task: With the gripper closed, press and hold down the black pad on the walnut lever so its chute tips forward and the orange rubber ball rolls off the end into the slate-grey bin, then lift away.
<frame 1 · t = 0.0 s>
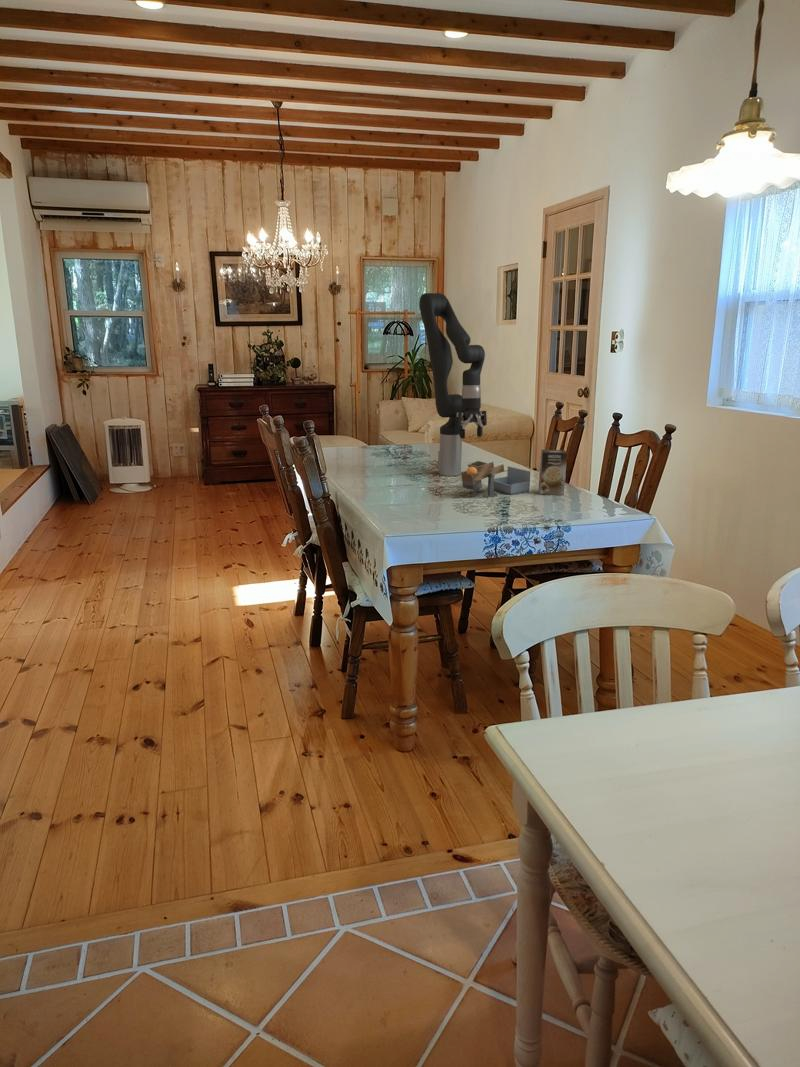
hand: (471, 437, 300), 17 cm above the table, tool pointing down, fingers open, 8 cm apart
lever stand: (483, 494, 277), on the table
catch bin: (509, 480, 283), on the table
lever chute: (475, 473, 279), point 7 cm above the table, hinge at -10.0°, touching ball
coffee box: (551, 493, 280), on the table
ball: (471, 472, 272), point 9 cm above the table, touching lever chute
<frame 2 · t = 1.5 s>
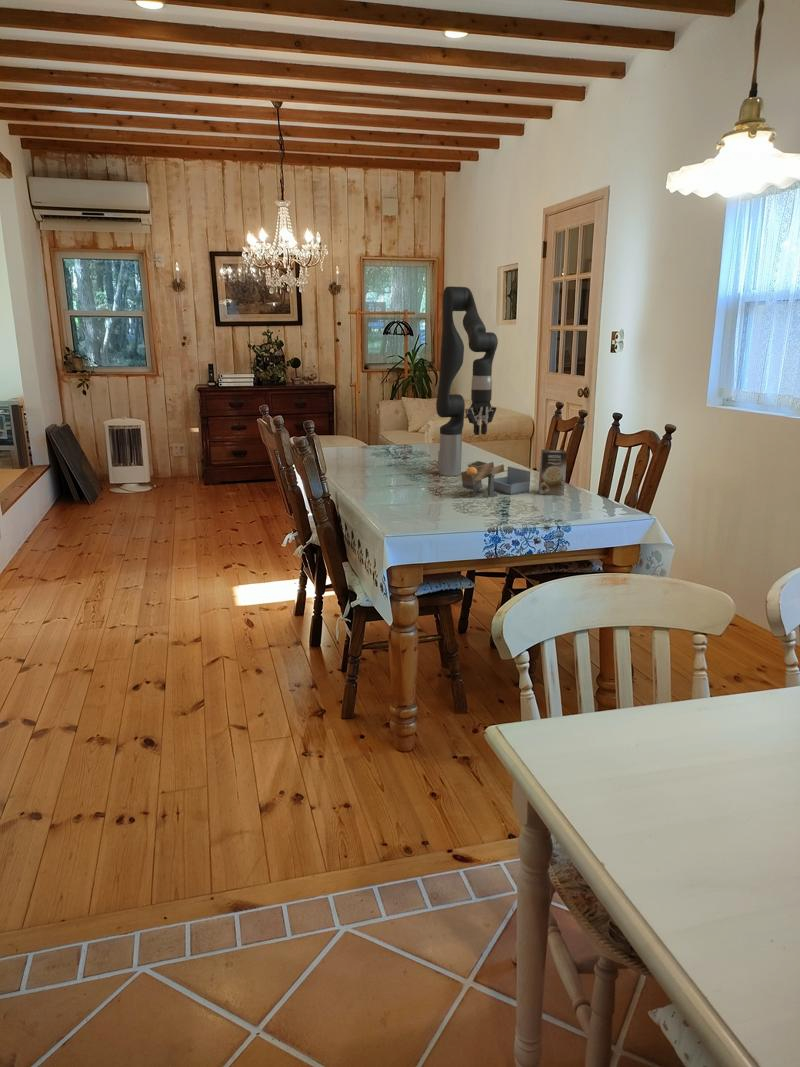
hand: (480, 434, 281), 21 cm above the table, tool pointing down, fingers closed
nothing on the table moved.
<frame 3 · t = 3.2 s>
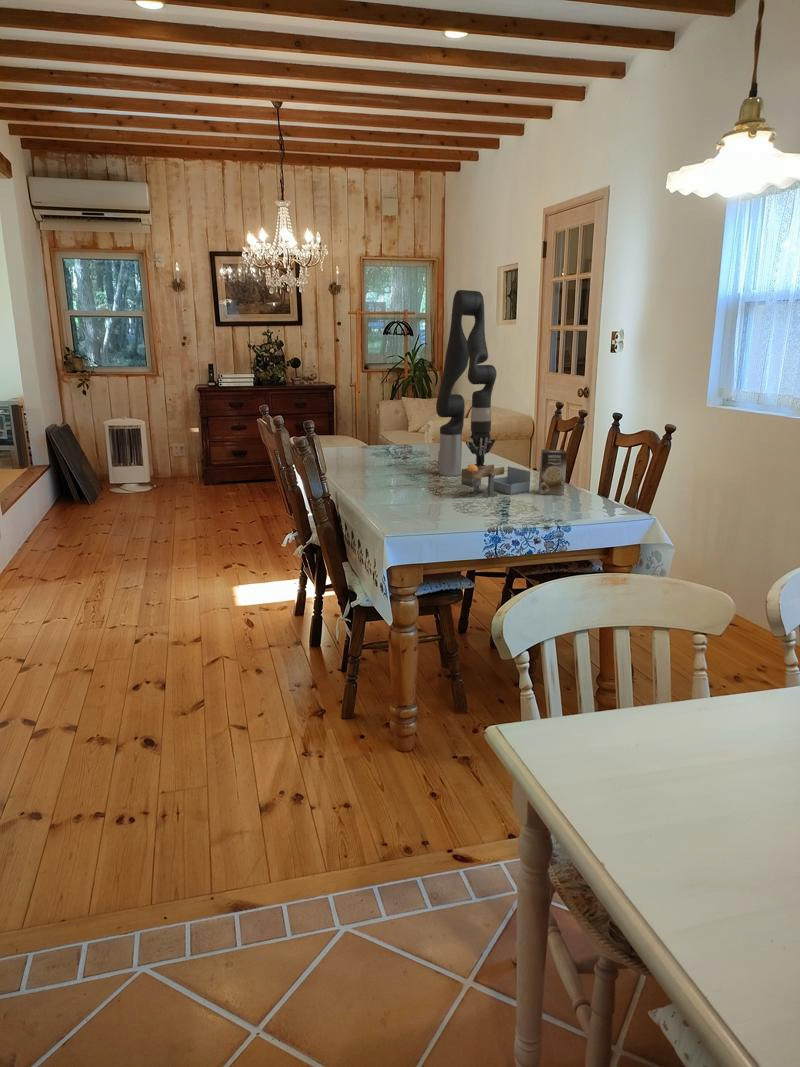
hand: (480, 464, 284), 9 cm above the table, tool pointing down, fingers closed
lever chute: (475, 473, 279), point 7 cm above the table, hinge at -1.0°, touching ball, gripper
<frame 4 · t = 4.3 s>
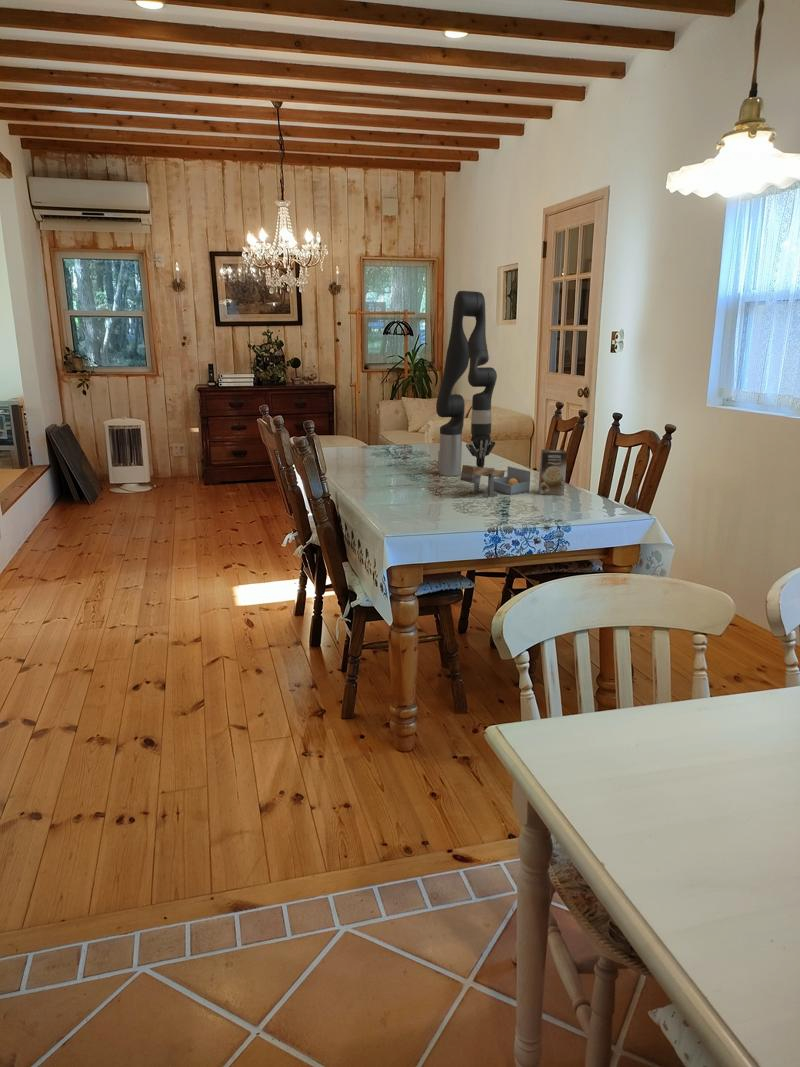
hand: (480, 467, 285), 9 cm above the table, tool pointing down, fingers closed
lever chute: (475, 473, 279), point 7 cm above the table, hinge at 10.7°, touching gripper
ball: (513, 483, 284), point 3 cm above the table, tilted 125°, touching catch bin
everything else where it was.
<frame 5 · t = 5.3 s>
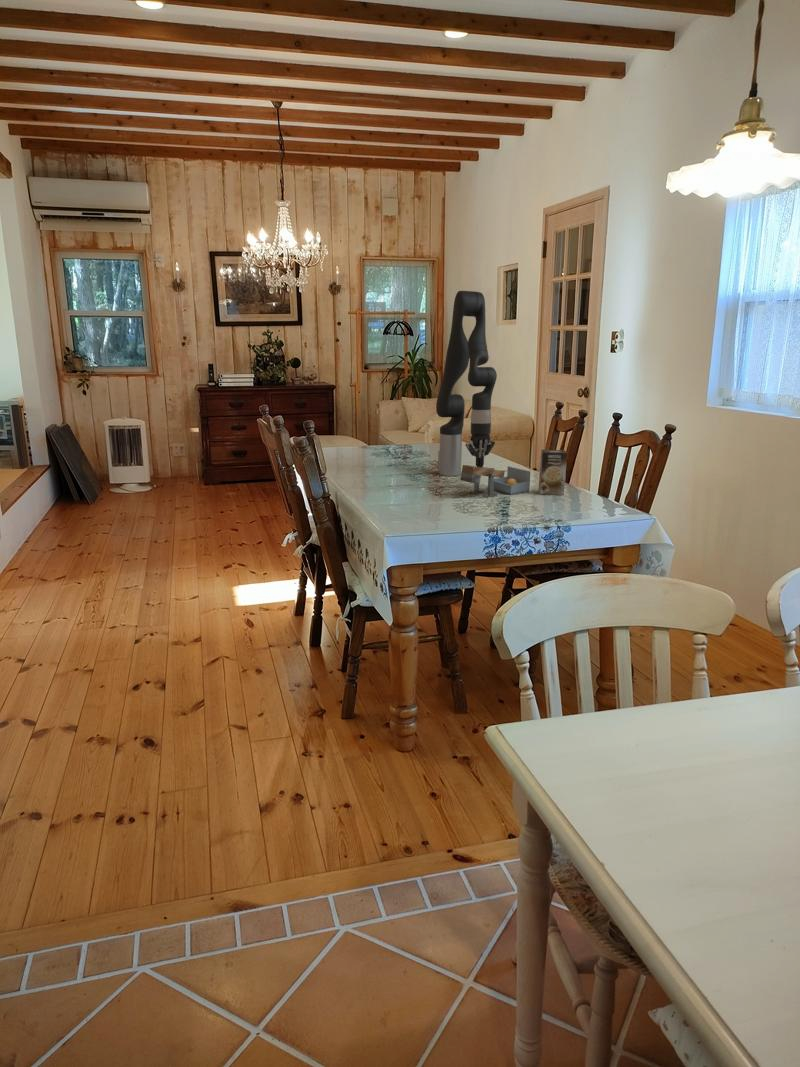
hand: (479, 466, 284), 9 cm above the table, tool pointing down, fingers closed
lever chute: (475, 473, 279), point 7 cm above the table, hinge at 10.7°
ball: (511, 483, 284), point 3 cm above the table, tilted 146°, touching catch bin
everything else where it was.
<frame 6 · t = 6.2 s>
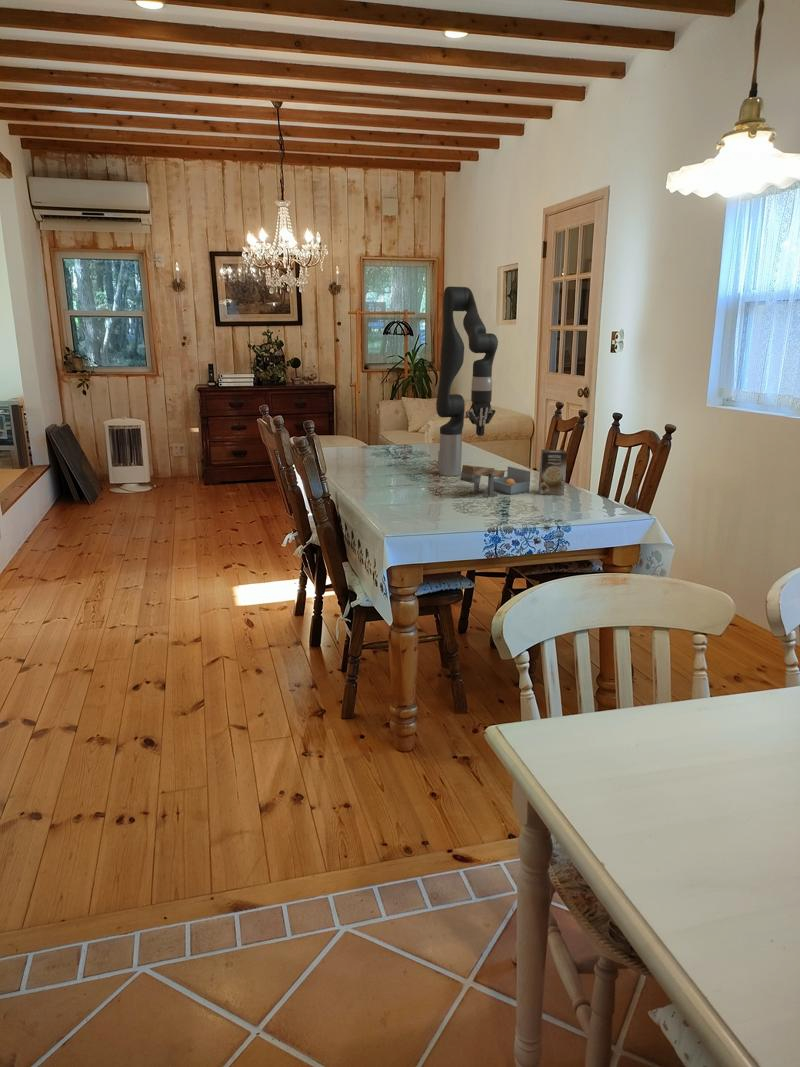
hand: (479, 435, 281), 21 cm above the table, tool pointing down, fingers closed
ball: (510, 483, 284), point 3 cm above the table, tilted 165°, touching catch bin
everything else where it was.
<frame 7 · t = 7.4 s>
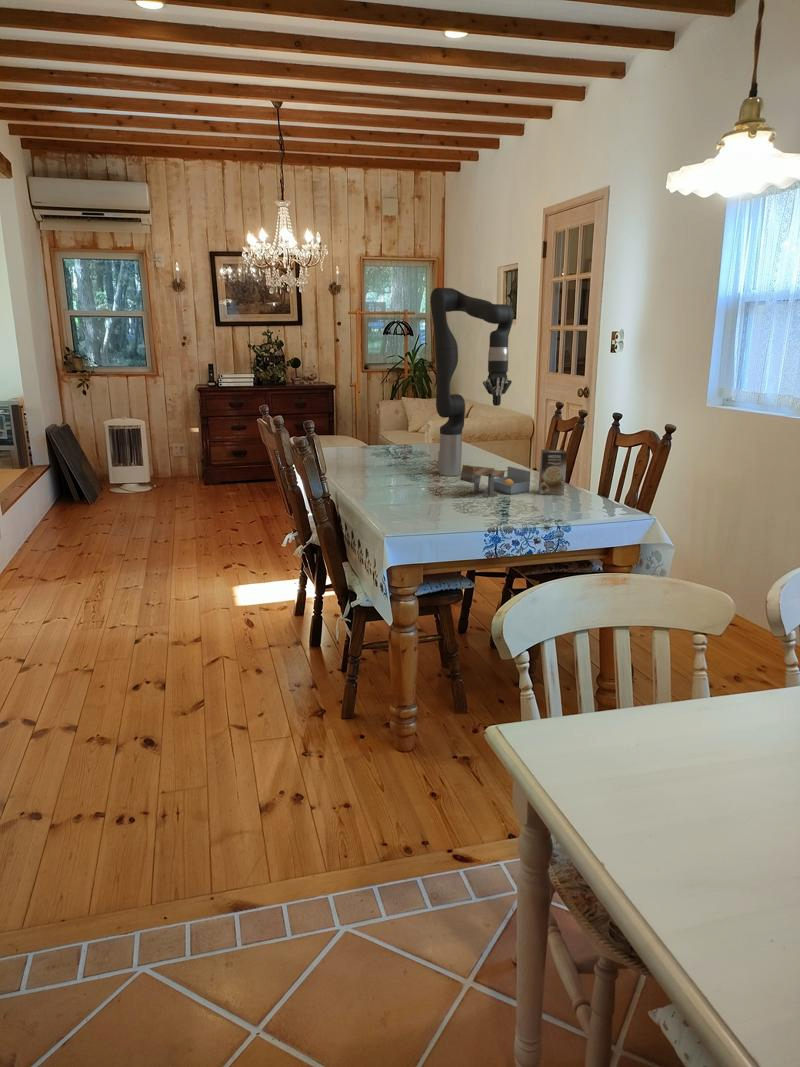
hand: (496, 405, 287), 31 cm above the table, tool pointing down, fingers closed
ball: (508, 484, 283), point 3 cm above the table, tilted 170°, touching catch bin
everything else where it was.
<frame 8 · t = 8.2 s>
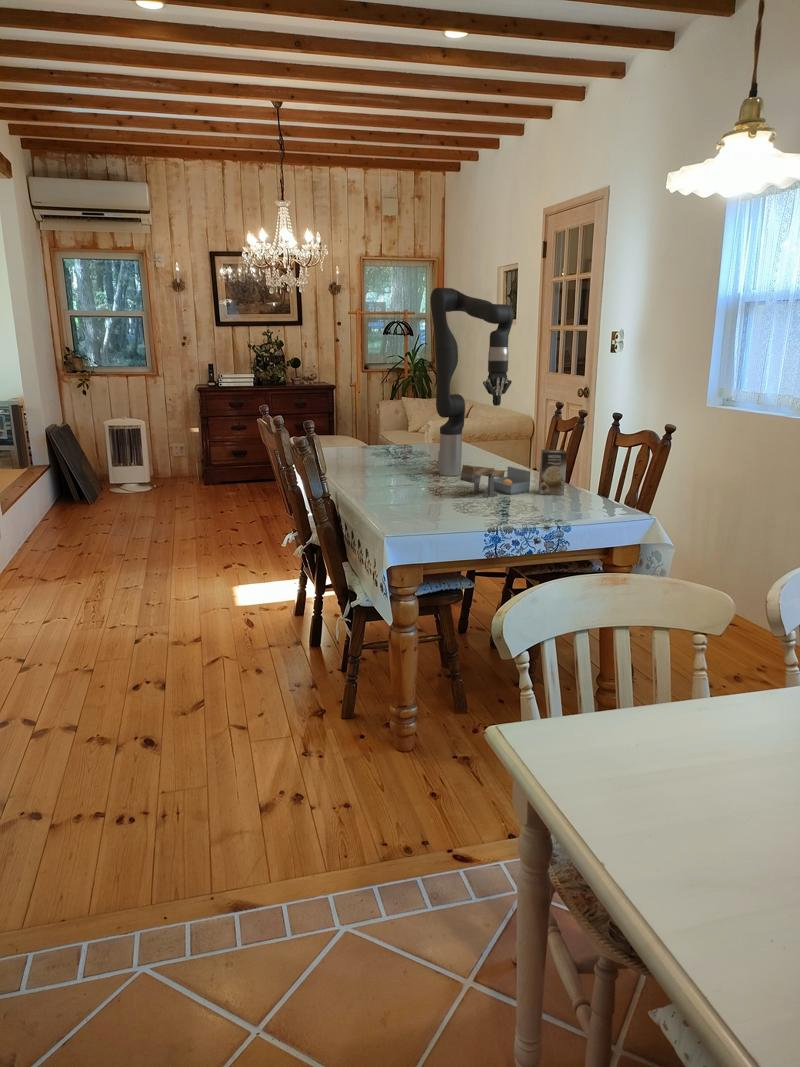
hand: (496, 405, 287), 31 cm above the table, tool pointing down, fingers closed
ball: (507, 484, 283), point 3 cm above the table, tilted 153°, touching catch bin
everything else where it was.
at the end: ball inside the target area on the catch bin (1.3 cm from its centre), point 2.6 cm above the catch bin's base; ball touching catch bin; coffee box moved 0.2 cm from its start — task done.
